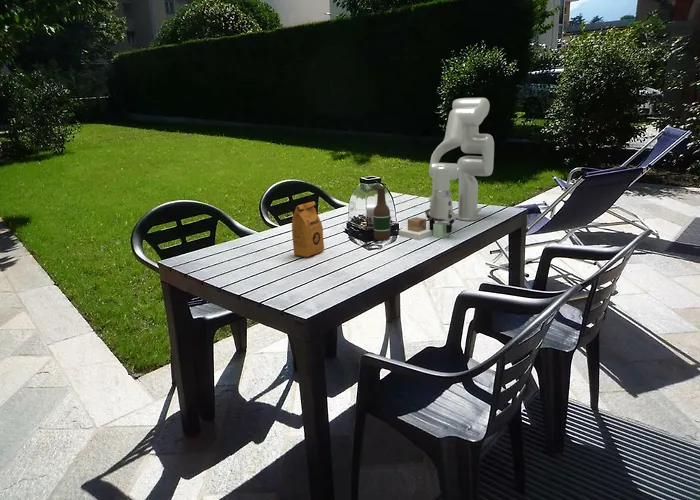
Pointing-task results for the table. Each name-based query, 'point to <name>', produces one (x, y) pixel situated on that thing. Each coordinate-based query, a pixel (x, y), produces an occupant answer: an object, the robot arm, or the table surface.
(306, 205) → the coffee package
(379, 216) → the beer bottle
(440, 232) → the sage block
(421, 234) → the base slab
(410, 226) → the walnut block
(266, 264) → the table surface
